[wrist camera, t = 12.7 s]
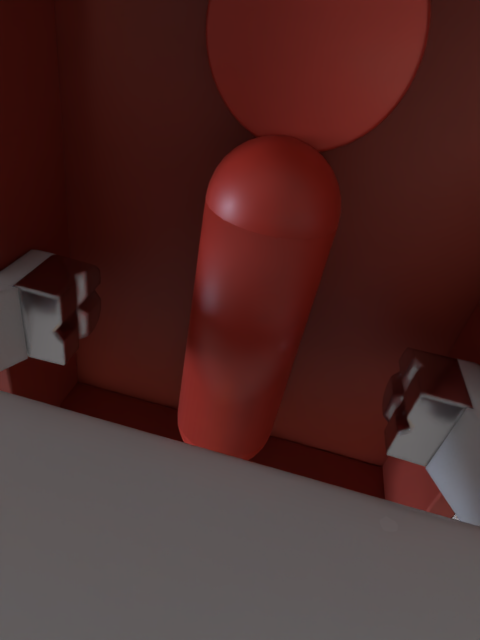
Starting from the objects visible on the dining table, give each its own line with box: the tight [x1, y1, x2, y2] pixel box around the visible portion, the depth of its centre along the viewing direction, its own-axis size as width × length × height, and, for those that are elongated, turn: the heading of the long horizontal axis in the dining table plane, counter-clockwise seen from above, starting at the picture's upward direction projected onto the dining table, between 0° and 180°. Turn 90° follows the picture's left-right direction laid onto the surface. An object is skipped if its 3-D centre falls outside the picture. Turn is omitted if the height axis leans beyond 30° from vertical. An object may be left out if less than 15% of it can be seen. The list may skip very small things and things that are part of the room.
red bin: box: [0, 0, 480, 518], centre depth 9 cm, size 14×11×4 cm
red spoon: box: [178, 0, 431, 460], centre depth 9 cm, size 4×12×3 cm, turn 170°
